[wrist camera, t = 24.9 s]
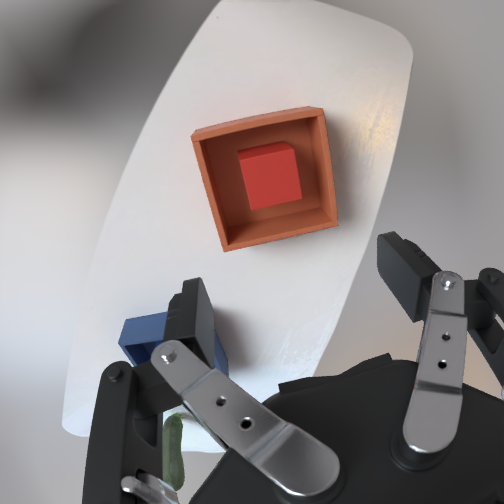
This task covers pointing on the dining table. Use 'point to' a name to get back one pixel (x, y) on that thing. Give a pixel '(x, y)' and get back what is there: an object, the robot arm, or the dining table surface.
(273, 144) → the red block
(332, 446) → the robot arm
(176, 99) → the dining table surface
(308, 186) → the terracotta bin
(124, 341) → the blue bin
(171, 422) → the vegetable
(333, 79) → the dining table surface
